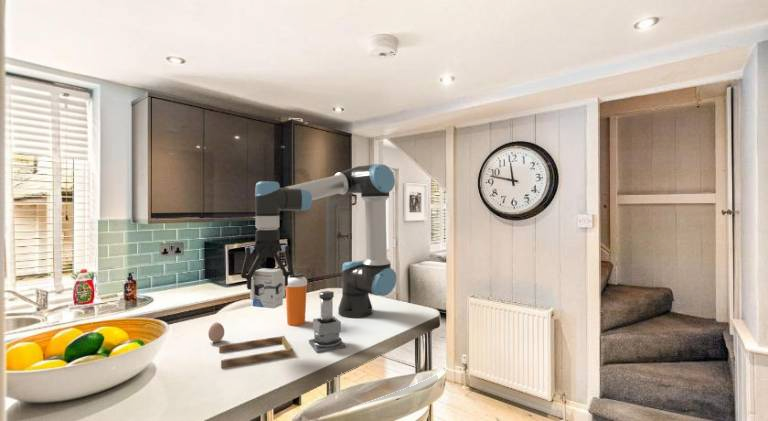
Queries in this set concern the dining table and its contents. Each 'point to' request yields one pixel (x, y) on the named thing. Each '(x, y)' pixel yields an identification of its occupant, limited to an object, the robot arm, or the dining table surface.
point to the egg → (216, 332)
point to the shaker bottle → (296, 299)
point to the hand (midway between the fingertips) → (267, 297)
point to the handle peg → (326, 306)
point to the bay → (256, 357)
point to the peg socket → (326, 336)
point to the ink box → (268, 288)
